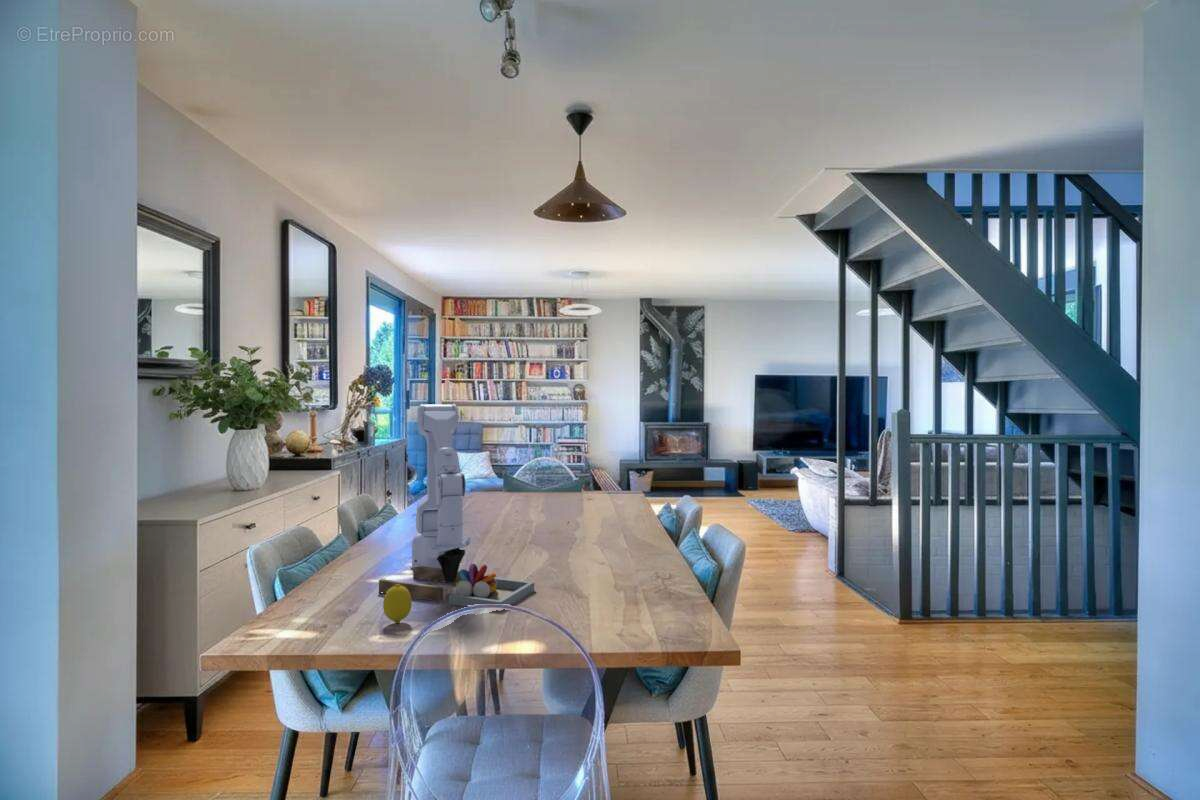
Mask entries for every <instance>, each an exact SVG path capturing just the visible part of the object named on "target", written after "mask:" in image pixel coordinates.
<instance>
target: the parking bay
mask: <svg viewBox="0 0 1200 800" xmlns="http://www.w3.org/2000/svg"><path fill="white" fill-rule="evenodd" d="M495 579H496V582H497V585H496V586H497V589H498V588H500V589H506V590H507V589H508V590H514V591H512V592H511V593H509V594H508V595H506V596H504V597H503V598H500V599H492V598H478V597H475V596H463V595H457V594H456V593H454V594H453V593H451V594H449V595H448V604H449V605H451V606H452V605H453V606H459V605H460V606H459V607H465V606H467V605H474V604H512V605H514V604H515V603H517V602H518V601H520V600H521V599H524V598H525V597H526V596H528V595H530V594H531V593H533V592H535V582H534V581H525V580H517V579H512V578H511V579H510V578H509V579H508V578H503V577H502V578H501V577H495Z"/></svg>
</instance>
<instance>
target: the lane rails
mask: <svg viewBox="0 0 1200 800" xmlns="http://www.w3.org/2000/svg"><path fill="white" fill-rule="evenodd" d="M412 570H413V572H412V575H413V576H412V578H413V579H415V578H422V579H421V580H423V579H430V580H429V581H431V580H437V581H436V582H439V581H445V579H444V575H443V572H442V568H433V567H425V566H413V568H412ZM459 572H460V570H459V569H458V572H457V577H456V580H455V582H453V583H452V584H455V583H456V582H457V581H460V580H462V579H461V578H460V575H459ZM396 584H399V585H401V586H404V587H405V588H407V589H408V591H409V593H410V595H411V598H412V597H413V598H414V599H422V600H426V601H427V600H429V601H435V602H442V601H443V600H444V586H438V585H431V584H421V583H415V582H407V581H399V580H394V579H393V580H392V579H385V578H380V579H378V593H379V592H383V593H382V594H384V593H386V592H387V591H388V590H389V589H390V588H391V587H393V586H395V585H396Z"/></svg>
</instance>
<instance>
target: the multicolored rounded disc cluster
mask: <svg viewBox="0 0 1200 800" xmlns="http://www.w3.org/2000/svg"><path fill="white" fill-rule="evenodd" d="M468 568H469V569H468V570H467V569H465V568H463V569H460V570H459V571H460V572H459V575H460V578H461V579H462V580H460V581H457V582H456V584H455V594H456V595H463V596H470V597H472V595H473V597H478V598H485V599H487V598H488V597H489V596H490V594H491V593H494V592H496V591H497V589H498V587H497V586H496V585H497V582H496V579H495V578H497V574H496V573H495V572H492V573H489V574H486V572H487V570H488V566H487V564H483V565H482V566H481V567H480V569H478V565H476V564H475V563H471V564H470V565H469V567H468ZM485 574H486V575H485Z"/></svg>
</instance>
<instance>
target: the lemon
mask: <svg viewBox="0 0 1200 800" xmlns="http://www.w3.org/2000/svg"><path fill="white" fill-rule="evenodd" d="M412 602H413V601H412V597H411V595H410V593H409V591H408V589H407V588H405V587H404V586H401V585H399V584H396V585H395V586H393V587H391V588H390V589H389V590H388V591H387V592H386V594H384V598H383V602H382V606H383V612H384V615H385V617H387V619H389V620H390V621H393V622H394V623H395V624H399V623H401V621H403V620H405V619H406V618H407V617H408V615H409V614H410V613H411V609H412V605H413V603H412Z"/></svg>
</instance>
